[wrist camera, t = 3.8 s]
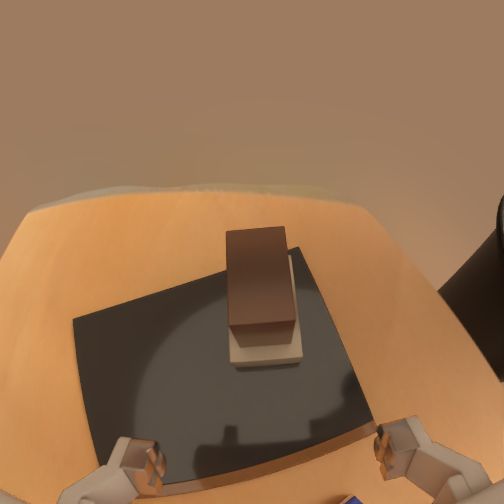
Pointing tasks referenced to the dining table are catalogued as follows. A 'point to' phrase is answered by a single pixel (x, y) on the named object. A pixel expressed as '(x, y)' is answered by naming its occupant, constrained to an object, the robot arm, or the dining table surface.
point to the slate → (215, 386)
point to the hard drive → (351, 500)
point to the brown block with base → (261, 299)
